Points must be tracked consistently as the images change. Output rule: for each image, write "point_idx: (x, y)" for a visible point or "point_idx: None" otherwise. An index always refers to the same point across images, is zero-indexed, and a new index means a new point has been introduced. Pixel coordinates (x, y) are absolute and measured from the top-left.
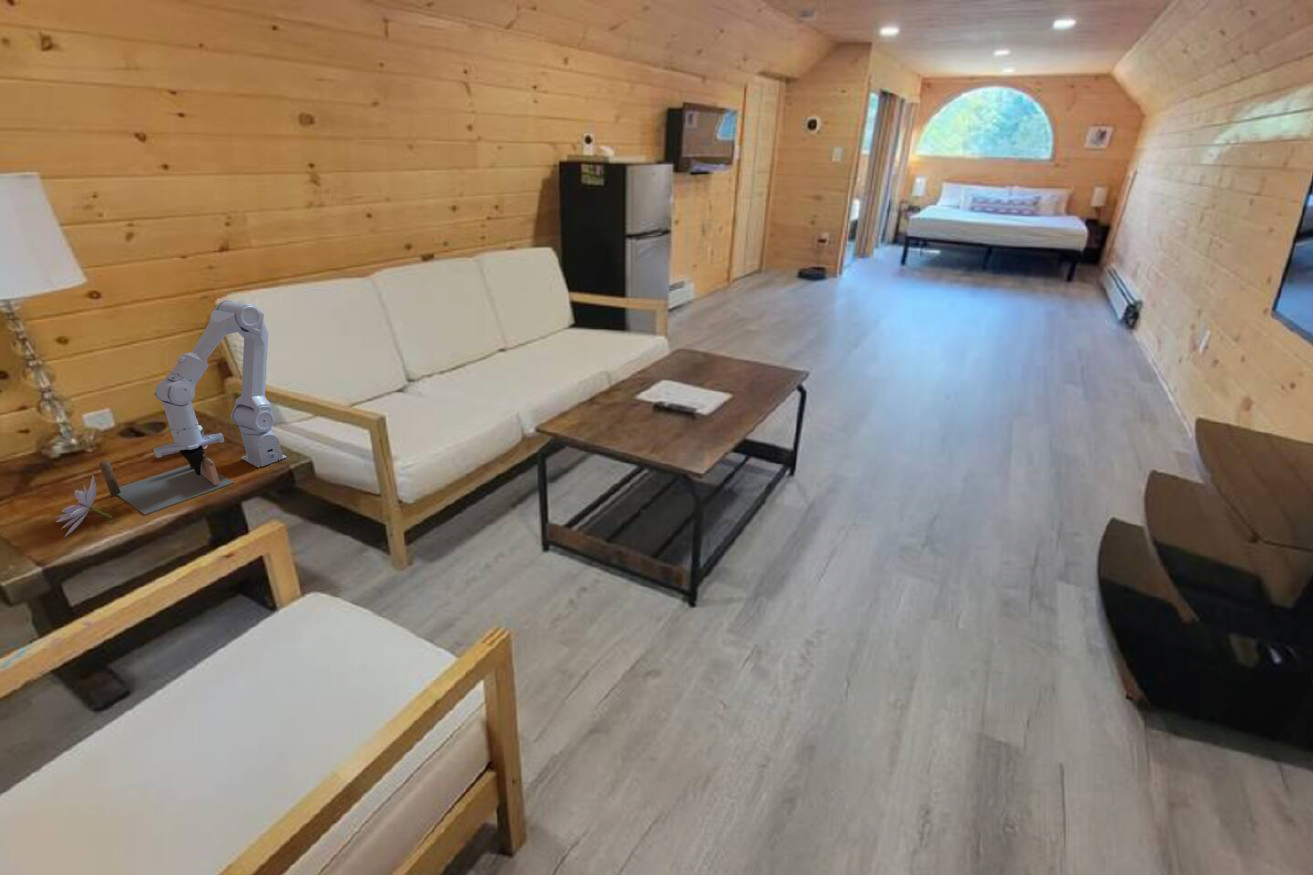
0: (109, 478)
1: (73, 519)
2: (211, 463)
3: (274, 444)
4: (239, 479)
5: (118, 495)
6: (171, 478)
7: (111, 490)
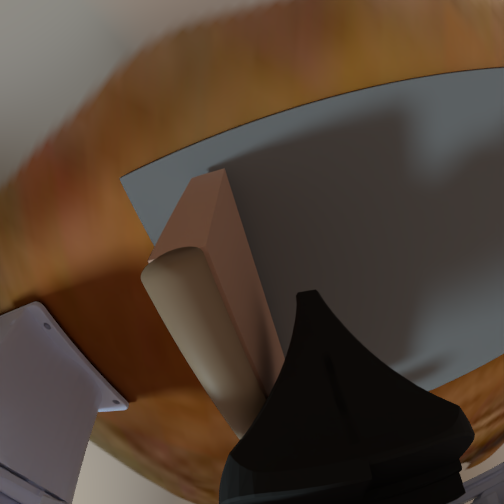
0: None
1: None
2: (169, 267)
3: None
4: (99, 218)
5: None
6: (388, 365)
7: None
